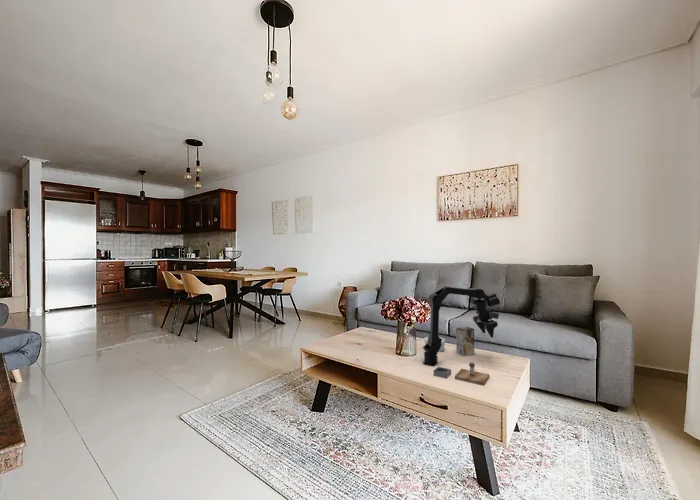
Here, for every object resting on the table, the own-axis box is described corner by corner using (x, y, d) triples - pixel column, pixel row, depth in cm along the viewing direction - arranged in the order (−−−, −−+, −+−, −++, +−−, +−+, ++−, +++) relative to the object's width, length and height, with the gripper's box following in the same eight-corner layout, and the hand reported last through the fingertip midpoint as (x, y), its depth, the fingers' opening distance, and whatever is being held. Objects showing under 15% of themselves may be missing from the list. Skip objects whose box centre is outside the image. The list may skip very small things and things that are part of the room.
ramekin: (441, 354, 199) (441, 343, 199) (421, 350, 206) (421, 340, 206) (447, 348, 210) (447, 338, 210) (428, 345, 217) (428, 335, 217)
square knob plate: (454, 379, 161) (454, 363, 161) (461, 371, 171) (461, 356, 171) (484, 385, 153) (484, 369, 153) (489, 377, 163) (489, 361, 163)
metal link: (433, 375, 166) (433, 370, 166) (438, 371, 171) (438, 366, 171) (446, 378, 162) (446, 373, 162) (451, 373, 167) (451, 369, 167)
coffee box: (467, 351, 203) (467, 326, 203) (474, 354, 198) (474, 328, 198) (456, 353, 200) (455, 328, 200) (463, 356, 194) (463, 330, 194)
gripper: (503, 308, 176) (510, 336, 176) (487, 303, 194) (493, 327, 195) (484, 314, 175) (491, 341, 175) (469, 307, 194) (475, 332, 194)
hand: (488, 335), depth 185 cm, fingers open, 9 cm apart
